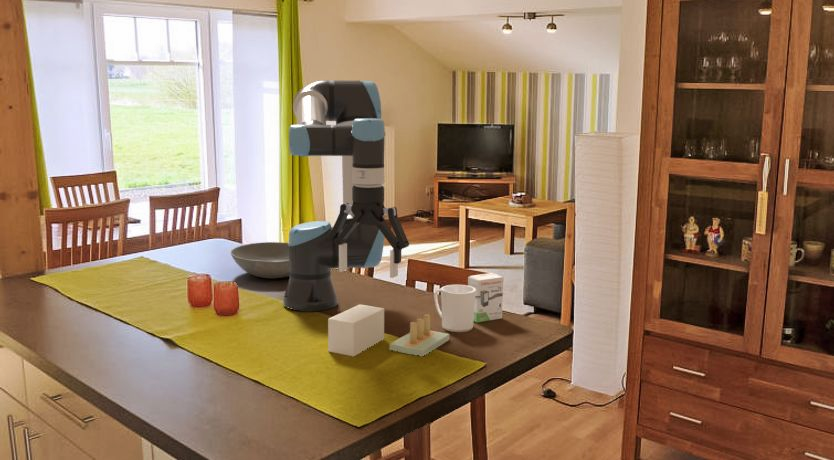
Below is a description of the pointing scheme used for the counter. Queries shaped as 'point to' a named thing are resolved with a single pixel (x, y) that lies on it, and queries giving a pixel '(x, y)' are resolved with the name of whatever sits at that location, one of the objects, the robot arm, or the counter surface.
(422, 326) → the header block
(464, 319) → the mug
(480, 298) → the ink box
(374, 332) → the white rectangular block
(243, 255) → the bowl
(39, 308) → the counter surface
